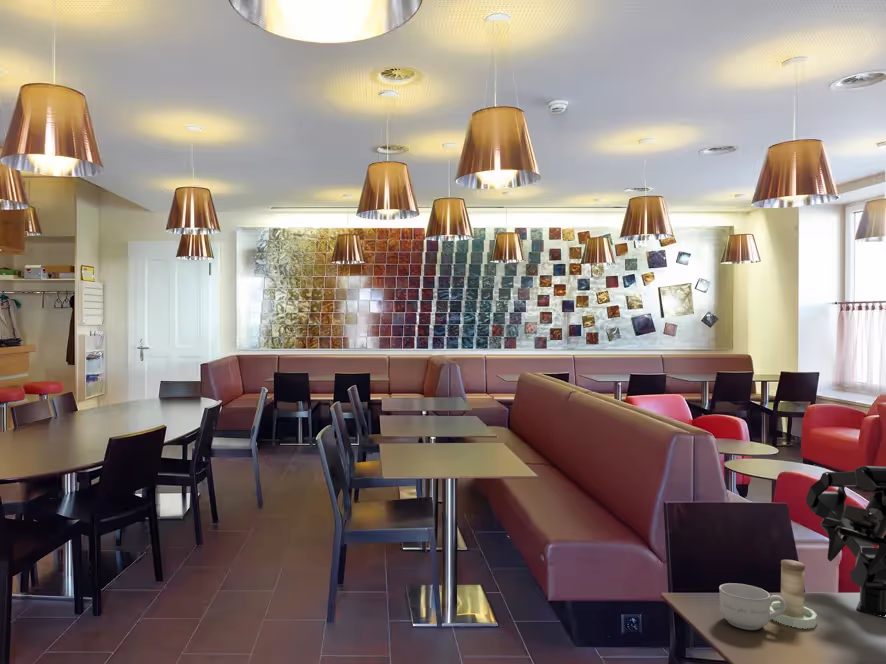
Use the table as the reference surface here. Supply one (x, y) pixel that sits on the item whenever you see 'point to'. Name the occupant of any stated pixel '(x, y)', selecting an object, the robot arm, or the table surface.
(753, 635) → the table surface
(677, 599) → the table surface
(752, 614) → the teacup
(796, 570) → the canister
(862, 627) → the table surface
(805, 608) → the bowl
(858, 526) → the robot arm
